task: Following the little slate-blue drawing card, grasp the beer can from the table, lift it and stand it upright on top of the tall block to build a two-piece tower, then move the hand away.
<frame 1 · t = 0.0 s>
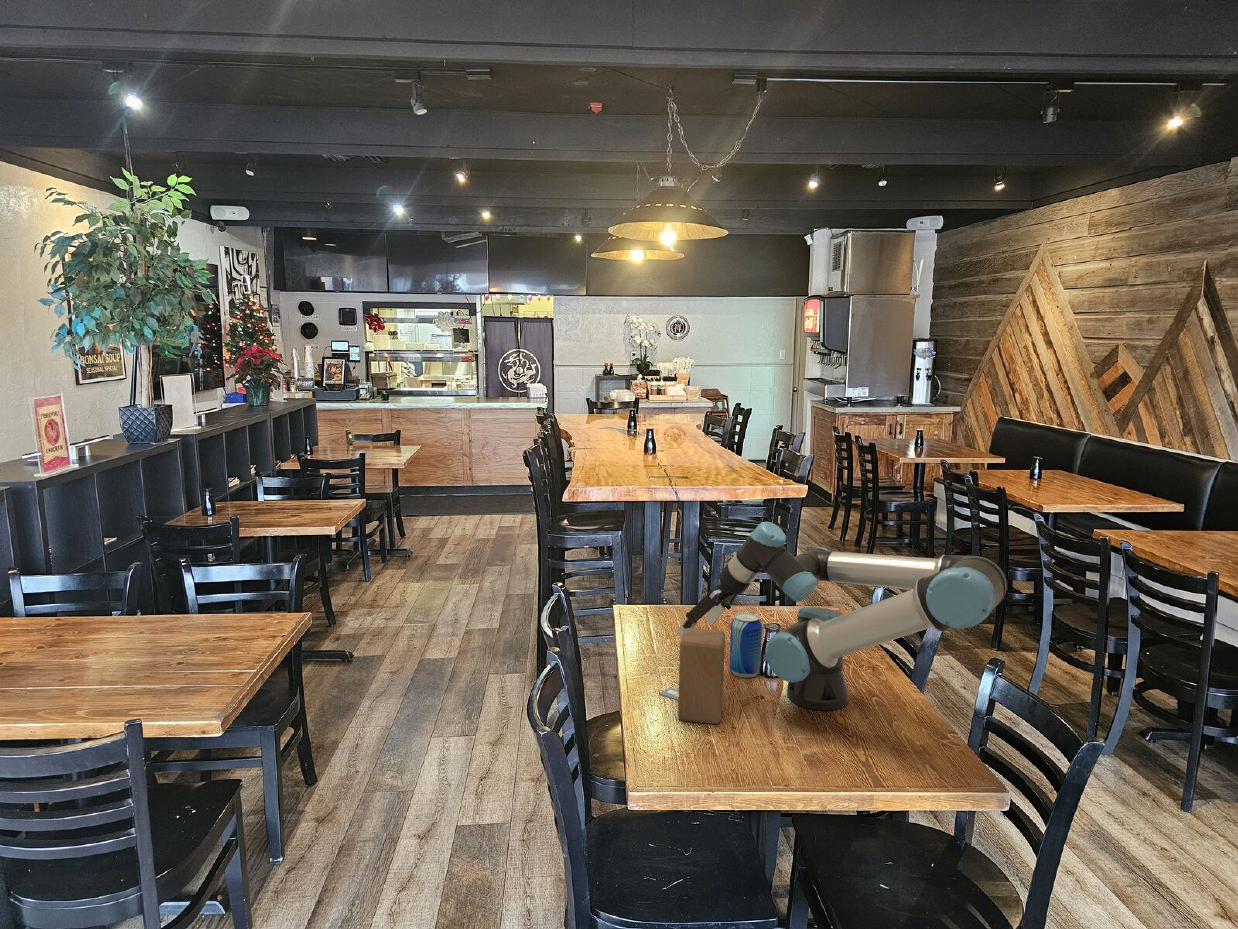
hand: (694, 628, 202), 15 cm above the table, tool tilted 35°, fingers open, 13 cm apart
block: (700, 715, 187), on the table
beer can: (744, 673, 212), on the table
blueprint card: (677, 695, 197), on the table
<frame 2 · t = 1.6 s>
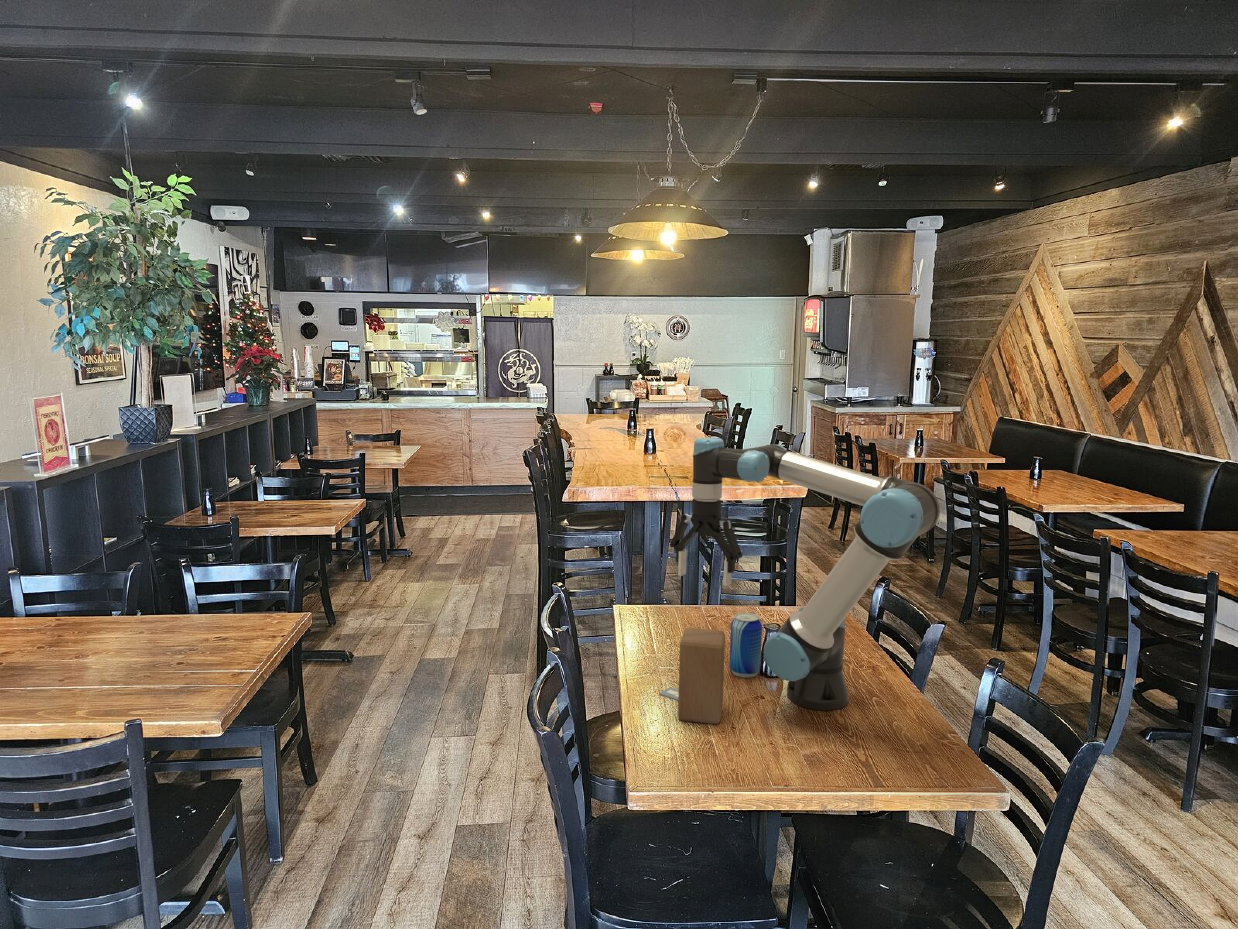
hand: (704, 579, 200), 29 cm above the table, tool pointing down, fingers open, 13 cm apart
nothing on the table moved.
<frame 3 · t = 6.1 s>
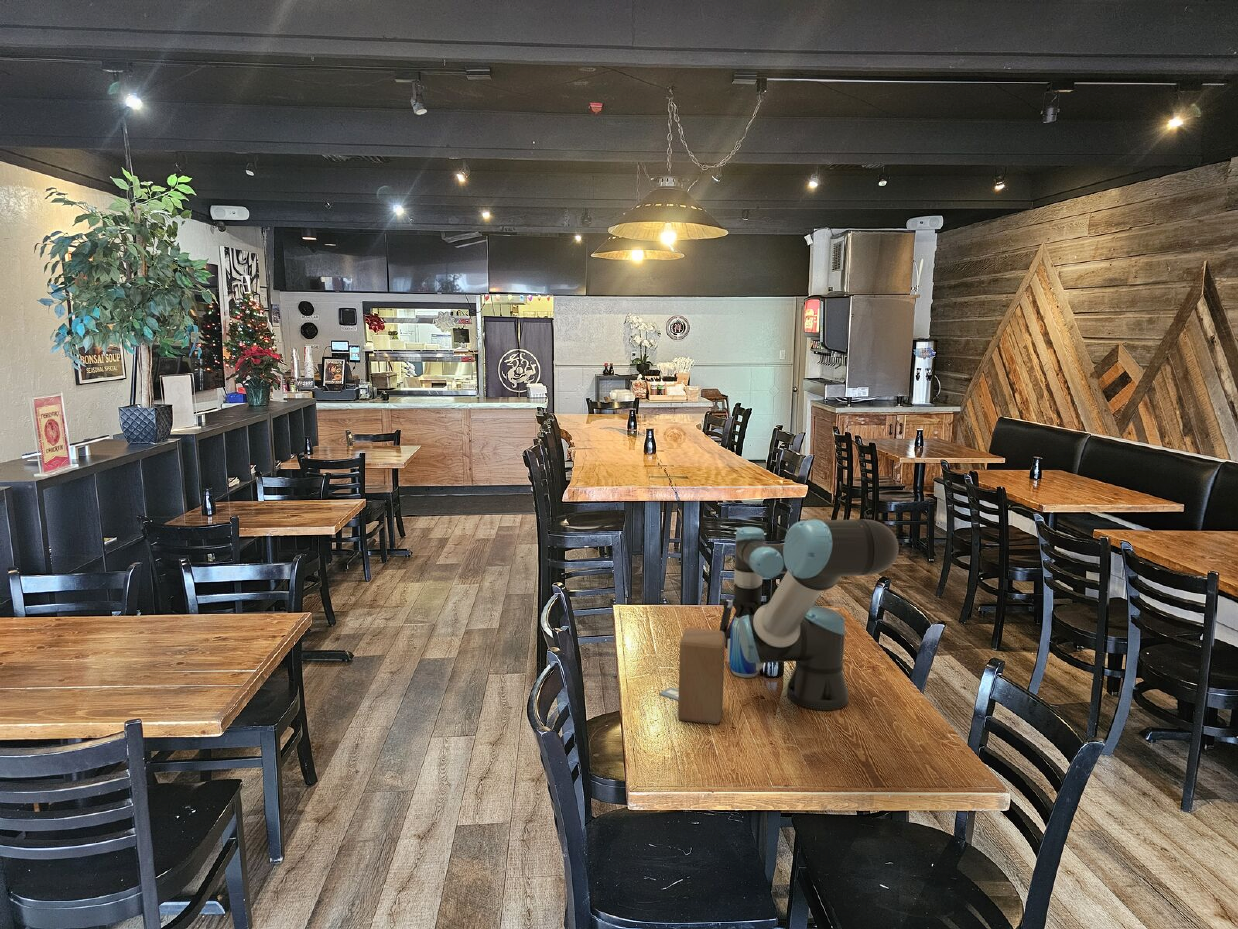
hand: (744, 664, 212), 2 cm above the table, tool pointing down, fingers closed on beer can, 8 cm apart
beer can: (744, 673, 212), on the table, touching gripper
everything else where it was.
when the fingers open (24 cm above the table, at t = 13.5 s): beer can drops 2 cm, resting on block.
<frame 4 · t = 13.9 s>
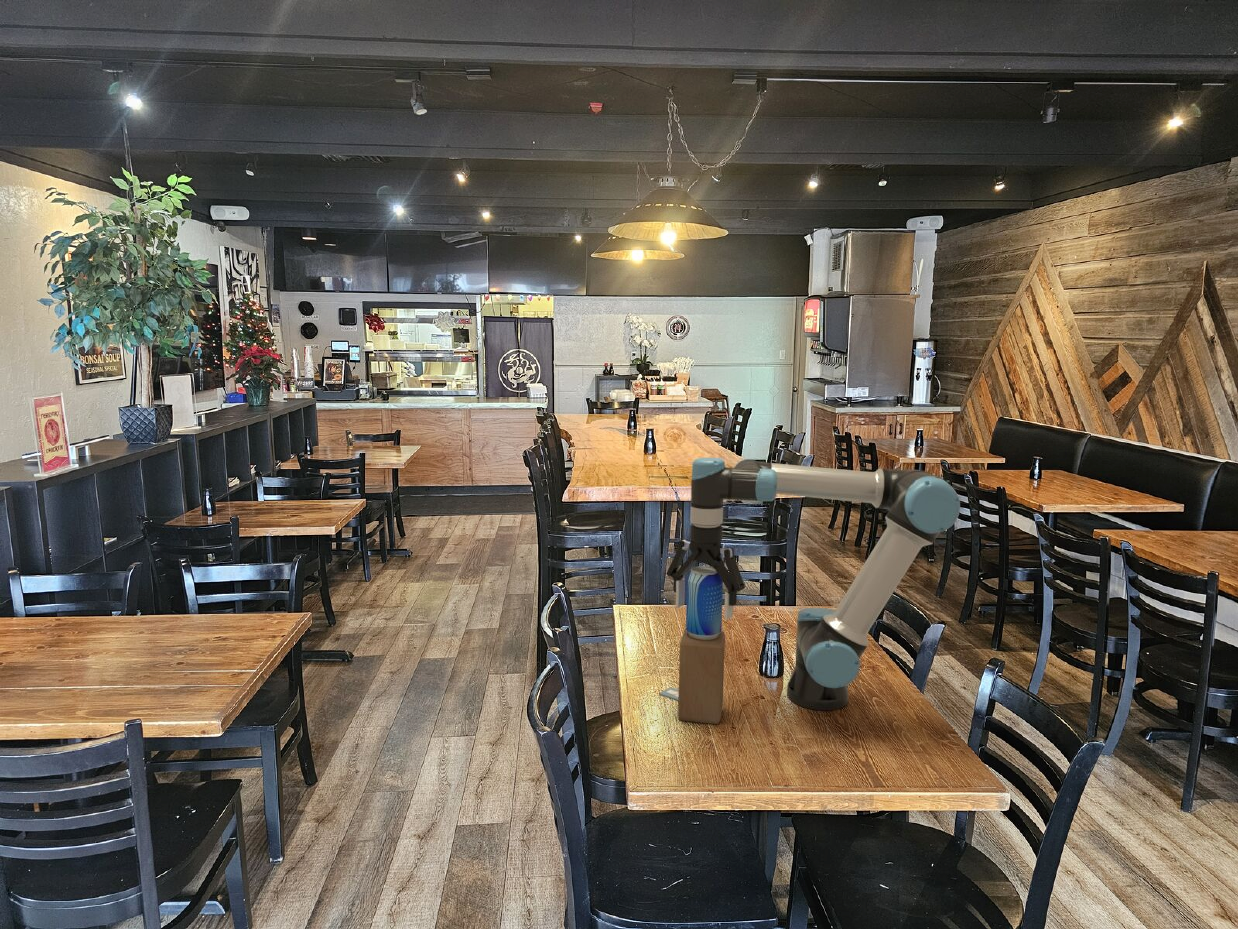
hand: (703, 612, 184), 26 cm above the table, tool pointing down, fingers open, 13 cm apart
block: (700, 715, 187), on the table, touching beer can
beer can: (703, 635, 185), point 20 cm above the table, touching block
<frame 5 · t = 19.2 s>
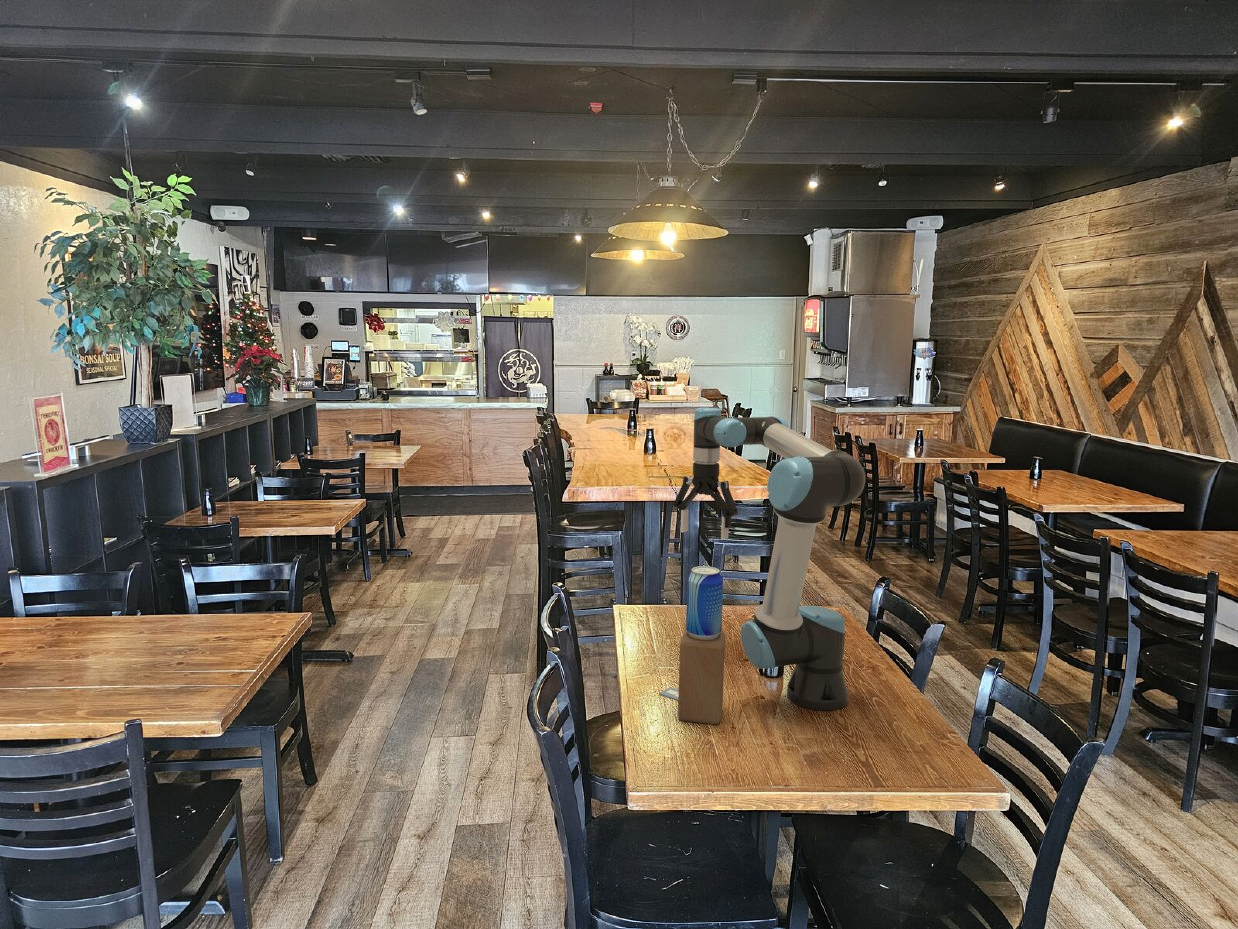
hand: (704, 535, 223), 35 cm above the table, tool pointing down, fingers open, 13 cm apart
nothing on the table moved.
at the end: beer can 0.2 cm off-centre on the block, point 20.0 cm above the block's base; beer can tilted 0°; block tilted 0° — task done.
